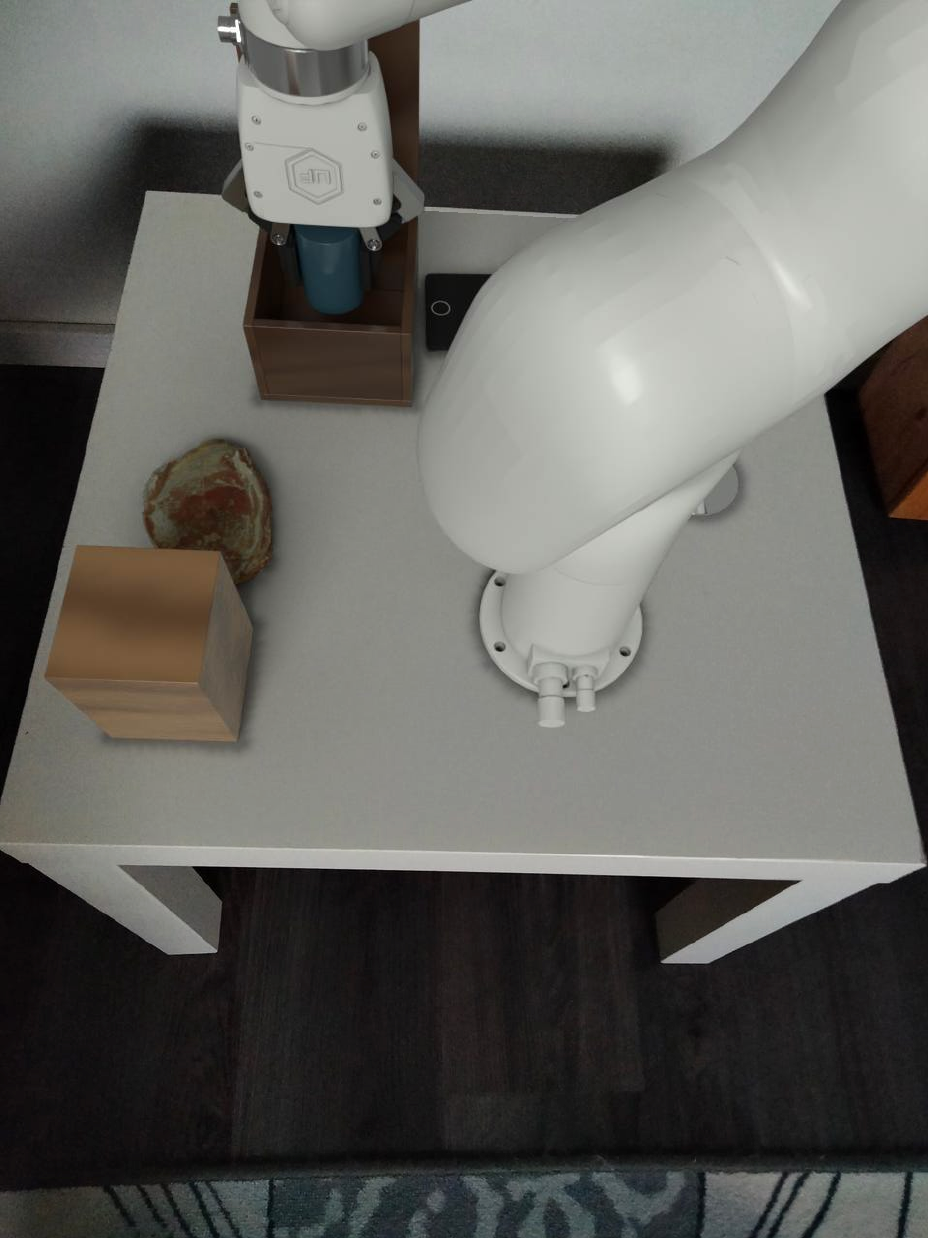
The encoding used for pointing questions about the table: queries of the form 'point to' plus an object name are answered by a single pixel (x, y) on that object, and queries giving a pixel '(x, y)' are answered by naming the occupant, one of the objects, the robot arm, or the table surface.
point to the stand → (153, 643)
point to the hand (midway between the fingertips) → (333, 274)
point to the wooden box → (335, 332)
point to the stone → (212, 507)
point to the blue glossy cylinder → (330, 267)
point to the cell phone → (448, 305)
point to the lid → (397, 89)
